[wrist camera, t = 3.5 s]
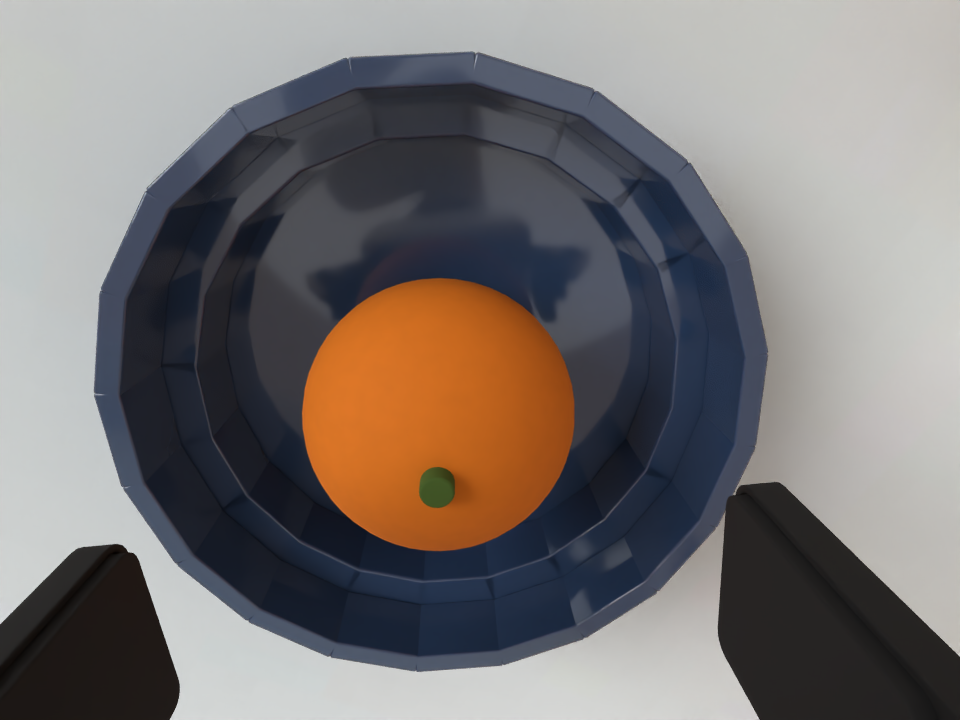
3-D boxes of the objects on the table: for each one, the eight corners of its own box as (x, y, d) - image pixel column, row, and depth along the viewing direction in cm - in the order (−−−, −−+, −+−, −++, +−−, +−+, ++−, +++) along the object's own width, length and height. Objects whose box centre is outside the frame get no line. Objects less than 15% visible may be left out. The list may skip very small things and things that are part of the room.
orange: (316, 433, 19) (235, 599, 12) (357, 229, 16) (287, 282, 10) (515, 477, 19) (549, 654, 13) (578, 288, 17) (662, 375, 10)
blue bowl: (163, 513, 20) (79, 617, 16) (218, 4, 15) (118, -63, 10) (594, 596, 22) (630, 708, 18) (770, 174, 17) (885, 180, 13)
